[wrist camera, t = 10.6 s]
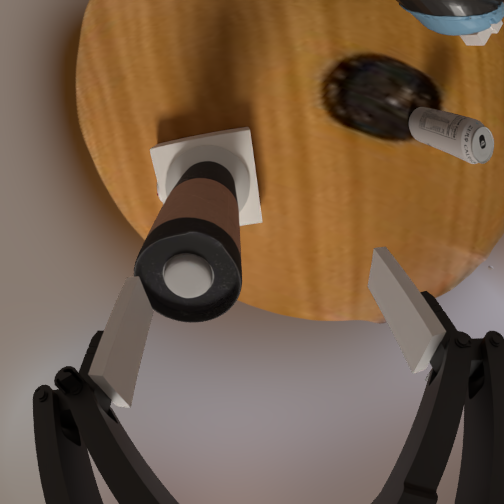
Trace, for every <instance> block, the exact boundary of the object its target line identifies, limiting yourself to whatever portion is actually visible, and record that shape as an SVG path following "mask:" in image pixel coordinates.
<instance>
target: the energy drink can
mask: <svg viewBox="0 0 504 504" xmlns="http://www.w3.org/2000/svg"><path fill="white" fill-rule="evenodd" d="M409 128H410V131H411V134H412V135H413V137H414V138H415V139H416V140H418V141H419V142H422V143H425V144H427V145H430V146H432V147H435V148H437V149H440V150H442V151H444V152H447V153H449V154H451V155H453V156H456V157H458V158H460V159H462V160H464V161H467V162H469V163H471V164H476V163H482V164H483V163H486V162H487V161H488V160H489V159H490V158H491V156H492V153H493V149H494V140H493V135H492V133H491V131H490V130H489V129H488V128H486V127H485V126H484V125H483V124H482V123H481V122H480V121H478V120H476V119H472V118H469V117H465V116H461V115H457V114H453V113H449V112H445V111H441V110H436V109H431V108H426V107H419V108H416V109H415V110H414V111H413V112H412V113H411V115H410V117H409Z"/></svg>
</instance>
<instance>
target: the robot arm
mask: <svg viewBox="0 0 504 504" xmlns="http://www.w3.org/2000/svg"><path fill="white" fill-rule="evenodd" d="M396 1H398V2H399V5H400V6H401V7H402V8H403V9H404V10H406V11H408V12H410V13H411V14H412V15H413V16H414V17H415V18H416V19H418V20H419V21H420V22H421V23H422V24H423V25H424V26H425V27H427V28H428V29H430V30H433V31H435V32H437V33H440V34H445V35H467V34H473V33H477V32H481V31H484V30H486V29H488V28H490V27H491V25H490V24H497V23H498V22H500V21H501V20H502V18H503V16H504V3H503V2H504V0H396ZM368 288H369V290H370V292H371V293H372V295H373V297H374V299H375V301H376V302H377V304H378V306H379V308H380V310H381V312H382V314H383V315H384V317H385V319H386V321H387V323H388V325H389V327H390V329H391V331H392V333H393V335H394V336H395V338H396V341H397V343H398V344H399V346H400V349H401V351H402V353H403V355H404V357H405V359H406V361H407V363H408V365H409V367H410V370H411V372H412V374H414V373H416V372H419V371H422V370H425V369H426V367H427V366H428V364H429V362H430V363H431V365H432V367H433V368H432V369H431V371H430V372H429V374H428V376H427V377H426V379H425V380H428V382H427V385H426V388H425V391H424V395H423V398H422V401H421V404H420V406H419V409H418V412H417V415H416V418H415V420H414V423H413V425H412V428H411V431H410V433H409V435H408V438H407V440H406V443H405V445H404V447H403V449H402V452H401V454H400V456H399V458H398V460H397V462H396V464H395V466H394V468H393V470H392V472H391V474H390V476H389V478H388V480H387V482H386V484H385V485H384V487H383V489H382V491H381V492H380V494H379V495H378V496H377V497H376V499H375V500H374V501H373V502H372V503H371V504H436V503H437V499H438V496H437V493H436V490H437V487H438V485H439V482H440V480H441V477H442V475H443V472H444V470H445V467H446V464H447V462H448V459H449V456H450V453H451V450H452V447H453V444H454V440H455V437H456V434H457V430H458V427H459V423H460V419H461V415H462V410H463V406H464V436H463V450H462V460H461V468H460V475H459V482H458V488H457V493H456V499H455V504H504V338H503V337H502V335H501V334H499V333H498V332H496V331H489V332H487V333H486V335H485V337H484V338H482V339H471V337H470V336H469V335H468V334H466V333H464V332H459V331H457V330H456V328H455V326H454V325H453V323H452V322H451V320H450V319H449V318H448V316H447V315H446V313H445V312H444V311H443V309H442V307H441V306H440V305H439V303H438V302H437V300H436V299H435V298H434V296H432V295H431V294H430V293H428V292H427V291H424V292H419V290H418V289H417V287H416V286H415V285H414V283H413V282H412V281H411V279H410V278H409V276H408V275H407V274H406V272H405V271H404V270H403V268H402V267H401V266H400V264H399V263H398V262H397V261H396V259H395V258H394V257H393V255H392V254H391V253H390V252H389V250H388V249H387V248H386V247H379V248H374V251H373V258H372V264H371V270H370V276H369V282H368ZM153 312H154V311H153V309H152V307H151V304H150V302H149V300H148V297H147V295H146V293H145V290H144V288H143V285H142V283H141V280H140V278H139V276H136V277H127V279H126V281H125V283H124V285H123V287H122V290H121V292H120V294H119V296H118V299H117V301H116V303H115V306H114V308H113V310H112V313H111V315H110V317H109V320H108V322H107V325H106V327H105V330H104V331H97V333H96V334H95V335H94V336H93V337H92V339H91V342H90V344H89V348H88V349H87V352H86V354H85V357H84V360H83V363H82V365H81V368H80V370H79V373H78V372H77V370H76V369H75V368H73V367H71V366H66V367H64V368H62V369H61V370H60V371H58V373H57V374H56V376H55V380H54V382H55V385H56V386H57V387H58V388H59V389H57V390H52V389H51V388H50V386H48V385H41V386H40V387H38V388H37V389H36V390H35V392H34V395H33V417H34V418H33V419H34V433H35V444H36V453H37V460H38V466H39V472H40V479H41V484H42V488H43V493H44V498H45V502H46V504H103V502H102V499H101V496H100V493H99V490H98V487H97V484H96V480H95V477H94V473H93V470H92V466H91V463H90V459H89V455H88V451H89V453H90V455H91V457H92V459H93V461H94V462H95V464H96V466H97V468H98V470H99V472H100V473H101V475H102V477H103V479H104V480H105V482H106V484H107V485H108V487H109V489H110V490H111V492H112V493H113V495H114V497H115V498H116V500H117V501H118V503H119V504H179V503H178V502H177V501H176V500H175V499H174V497H173V496H172V495H171V494H170V493H169V491H168V490H167V489H166V488H165V487H164V485H163V484H162V483H161V481H160V480H159V479H158V478H157V476H156V475H155V474H154V473H153V471H152V470H151V468H150V467H149V466H148V464H147V463H146V462H145V460H144V459H143V457H142V456H141V454H140V453H139V451H138V450H137V449H136V447H135V445H134V444H133V442H132V441H131V439H130V438H129V436H128V435H127V433H126V431H125V430H124V428H123V427H122V425H121V424H120V422H119V420H118V418H117V417H116V415H115V413H114V411H113V410H112V408H111V407H110V405H111V401H112V402H113V403H114V404H115V405H116V406H119V407H131V403H132V399H133V394H134V389H135V385H136V380H137V375H138V371H139V367H140V363H141V359H142V354H143V350H144V346H145V342H146V339H147V335H148V331H149V327H150V324H151V320H152V316H153ZM87 449H88V450H87Z"/></svg>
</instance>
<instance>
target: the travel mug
mask: <svg viewBox="0 0 504 504" xmlns="http://www.w3.org/2000/svg"><path fill="white" fill-rule="evenodd" d="M136 276H139V278H140V280H141V283H142V285H143V288H144V290H145V293H146V295H147V297H148V300H149V302H150V304H151V307H152V309H154V310H155V311H156V312H158V313H160V314H161V315H163V316H165V317H168V318H171V319H174V320H177V321H182V322H203V321H208V320H211V319H214V318H217V317H219V316H221V315H222V314H224V313H225V312H227V311H228V310H229V309H230V308H231V307H232V306H233V305H234V303H235V302H236V301H237V299H238V297H239V294H240V291H241V286H242V267H241V247H240V225H239V208H238V201H237V194H236V188H235V182H234V179H233V177H232V175H231V173H230V172H229V171H228V169H227V168H225V167H224V166H223V165H221V164H219V163H216V162H212V161H203V162H199V163H196V164H194V165H192V166H191V167H190V168H188V169H187V170H186V171H185V173H184V174H183V175H182V177H181V178H180V179H179V181H178V182H177V184H176V185H175V187H174V188H173V189H172V191H171V192H170V194H169V195H168V197H167V199H166V201H165V203H164V205H163V206H162V208H161V210H160V212H159V214H158V216H157V218H156V220H155V222H154V224H153V226H152V228H151V230H150V232H149V234H148V236H147V238H146V240H145V242H144V244H143V246H142V248H141V250H140V252H139V255H138V257H137V259H136V262H135V267H134V277H136Z"/></svg>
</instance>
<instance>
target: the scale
mask: <svg viewBox="0 0 504 504" xmlns="http://www.w3.org/2000/svg"><path fill="white" fill-rule="evenodd" d="M150 153H151V157H152V161H153V166H154V170H155V174H156V178H157V192H158V193H157V196H159V198H160V200H161V201H162V202H163V205H164V203H165V201H166V199H167V197H168V195H169V194H170V192H171V191H172V189H173V188H174V187H175V185H176V184H177V182H178V181H179V179H180V178H181V177H182V175H183V174H184V173H185V171H186V170H187V169H188V168H190V167H191V166H192V165H194V164H196V163H199V162H203V161H212V162H216V163H219V164H221V165H223V166H224V167H225V168H227V169H228V171H229V172H230V173H231V175H232V177H233V179H234V182H235V188H236V194H237V201H238V208H239V225H240V226H242V225H248V224H255V223H262V215H261V207H260V200H259V192H258V184H257V177H256V170H255V162H254V155H253V148H252V140H251V133H250V129H249V127H243V128H236V129H229V130H223V131H217V132H211V133H206V134H201V135H196V136H191V137H186V138H181V139H176V140H172V141H168V142H163V143H159V144H156V145H155V146H154V147H152V148H151V149H150Z"/></svg>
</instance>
